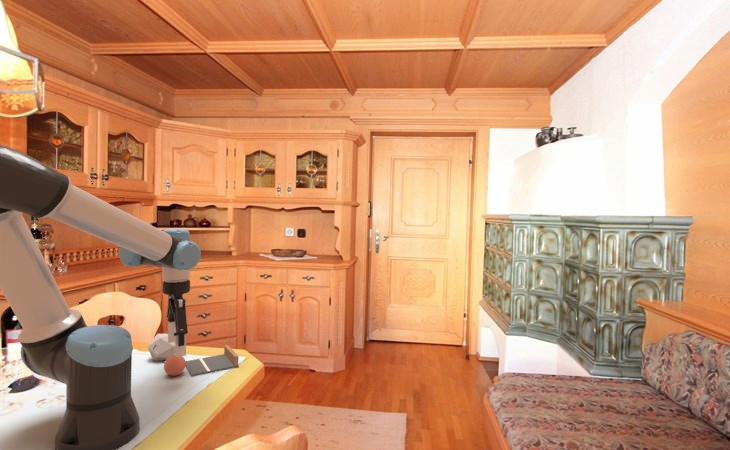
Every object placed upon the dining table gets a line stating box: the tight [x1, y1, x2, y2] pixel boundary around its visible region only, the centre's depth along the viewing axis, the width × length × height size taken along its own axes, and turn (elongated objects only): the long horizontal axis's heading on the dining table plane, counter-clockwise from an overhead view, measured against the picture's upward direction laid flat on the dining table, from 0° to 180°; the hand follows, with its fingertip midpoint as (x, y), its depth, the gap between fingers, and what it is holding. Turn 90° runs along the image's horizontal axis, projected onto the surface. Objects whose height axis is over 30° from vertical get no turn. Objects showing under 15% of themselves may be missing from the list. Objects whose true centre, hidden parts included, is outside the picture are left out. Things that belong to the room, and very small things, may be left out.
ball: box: [163, 354, 187, 377], centre depth 115 cm, size 6×6×6 cm
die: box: [146, 333, 175, 361], centre depth 128 cm, size 8×9×10 cm
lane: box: [185, 344, 239, 377], centre depth 123 cm, size 14×12×4 cm
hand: (176, 348), depth 115 cm, fingers open, 13 cm apart
